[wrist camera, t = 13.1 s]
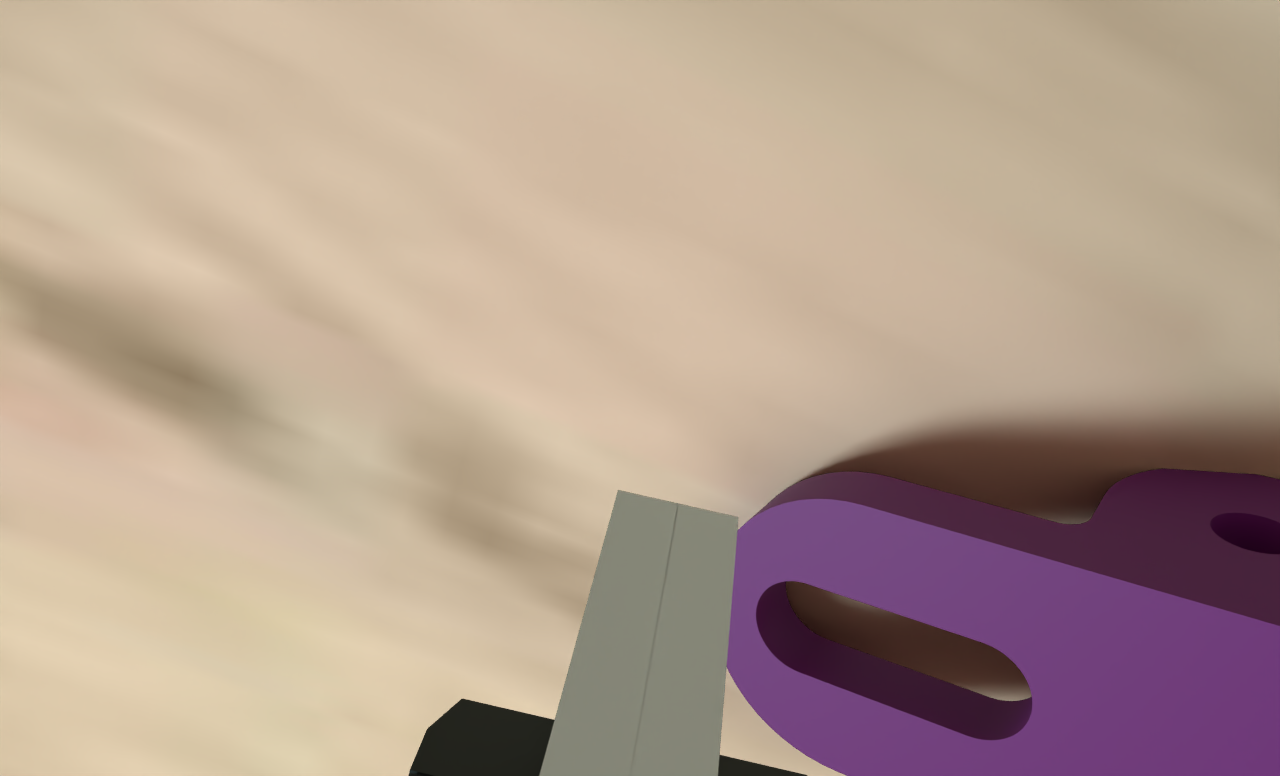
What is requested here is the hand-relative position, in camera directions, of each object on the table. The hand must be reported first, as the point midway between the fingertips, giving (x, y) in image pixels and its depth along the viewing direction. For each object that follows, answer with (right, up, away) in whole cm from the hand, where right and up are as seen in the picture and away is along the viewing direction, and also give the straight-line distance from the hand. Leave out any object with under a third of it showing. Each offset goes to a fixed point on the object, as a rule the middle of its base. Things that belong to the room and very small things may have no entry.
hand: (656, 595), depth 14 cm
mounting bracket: (+12, -4, +23) cm, 26 cm away
